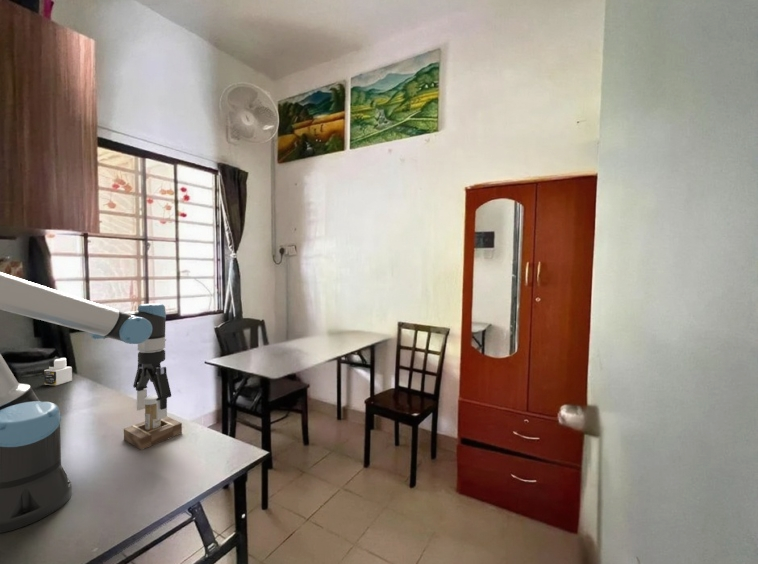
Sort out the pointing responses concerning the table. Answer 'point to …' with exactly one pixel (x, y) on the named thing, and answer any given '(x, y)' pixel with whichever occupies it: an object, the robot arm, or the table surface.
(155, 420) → the sprinkles bottle
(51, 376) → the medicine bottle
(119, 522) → the table surface
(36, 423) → the robot arm
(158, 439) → the socket
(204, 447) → the table surface
